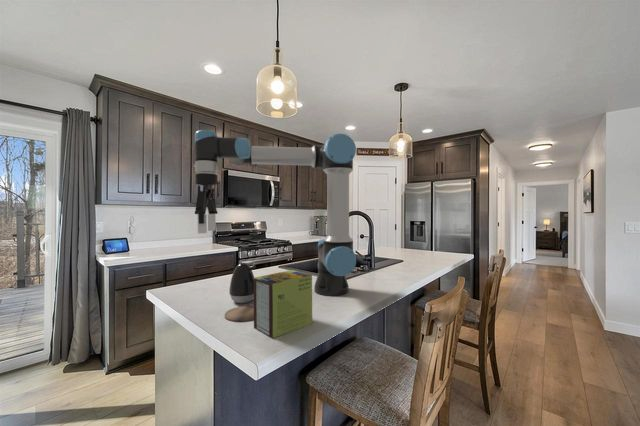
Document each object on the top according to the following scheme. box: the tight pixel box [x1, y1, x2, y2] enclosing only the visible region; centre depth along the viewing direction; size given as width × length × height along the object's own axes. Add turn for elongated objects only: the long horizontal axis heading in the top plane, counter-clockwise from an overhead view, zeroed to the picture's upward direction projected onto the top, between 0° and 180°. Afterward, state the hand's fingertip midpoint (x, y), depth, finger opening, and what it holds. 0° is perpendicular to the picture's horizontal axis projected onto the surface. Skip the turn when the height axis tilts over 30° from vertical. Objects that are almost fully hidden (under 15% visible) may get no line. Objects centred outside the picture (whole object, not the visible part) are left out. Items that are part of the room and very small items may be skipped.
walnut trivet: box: [224, 305, 254, 323], centre depth 95 cm, size 13×13×1 cm
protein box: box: [253, 269, 313, 339], centre depth 86 cm, size 10×15×16 cm
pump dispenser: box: [228, 262, 257, 304], centre depth 109 cm, size 10×10×15 cm
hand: (207, 232), depth 102 cm, fingers open, 13 cm apart
